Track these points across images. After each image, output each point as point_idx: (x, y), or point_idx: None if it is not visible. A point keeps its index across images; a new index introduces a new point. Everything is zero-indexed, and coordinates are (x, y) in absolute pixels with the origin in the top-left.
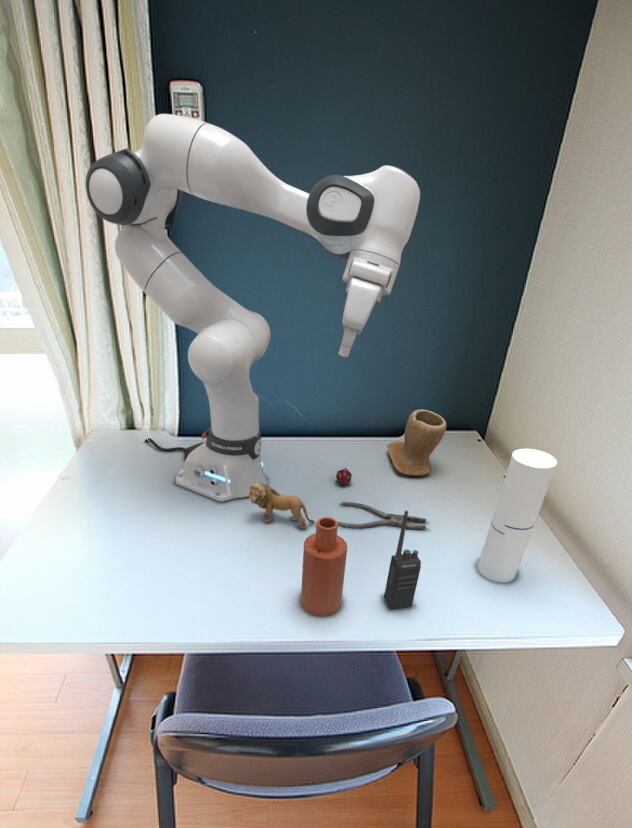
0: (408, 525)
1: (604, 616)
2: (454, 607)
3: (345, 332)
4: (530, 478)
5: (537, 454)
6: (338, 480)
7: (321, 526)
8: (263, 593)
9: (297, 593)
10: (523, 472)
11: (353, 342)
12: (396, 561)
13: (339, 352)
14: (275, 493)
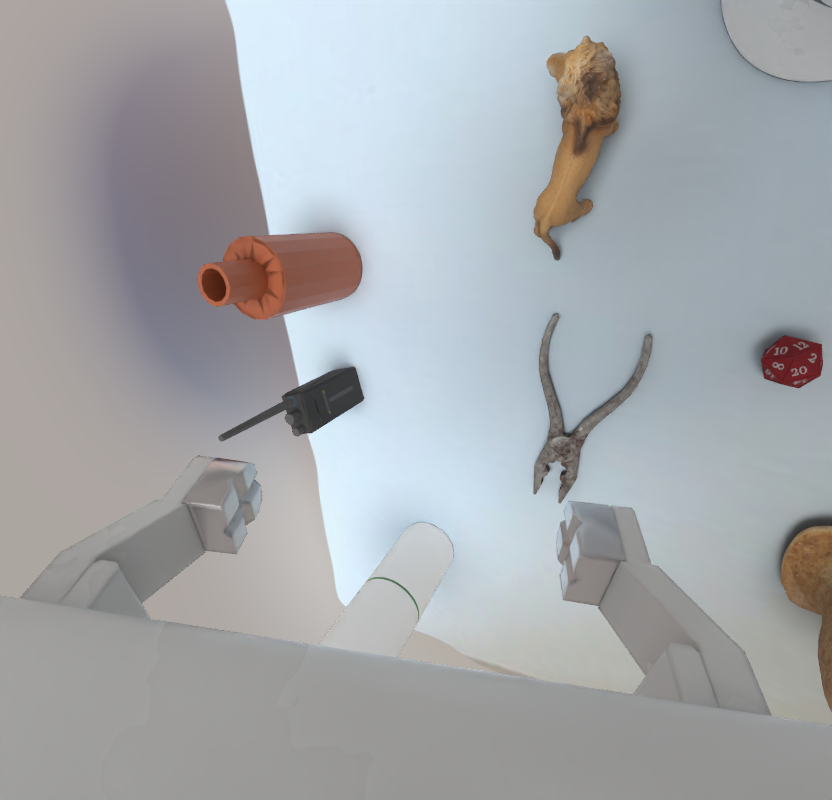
0: (538, 462)
1: None
2: (350, 457)
3: (56, 570)
4: None
5: None
6: (776, 342)
7: (202, 272)
8: (339, 160)
9: (347, 225)
10: None
11: (644, 672)
12: (287, 397)
13: (194, 463)
14: (576, 138)
